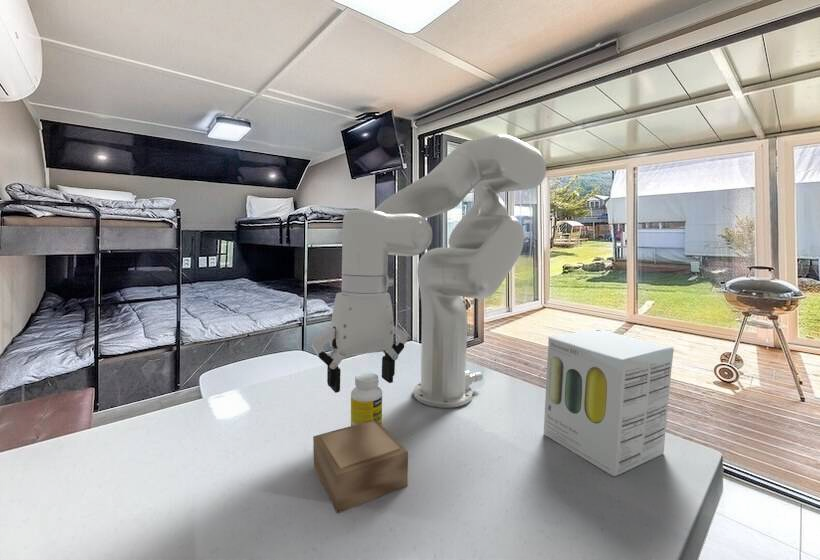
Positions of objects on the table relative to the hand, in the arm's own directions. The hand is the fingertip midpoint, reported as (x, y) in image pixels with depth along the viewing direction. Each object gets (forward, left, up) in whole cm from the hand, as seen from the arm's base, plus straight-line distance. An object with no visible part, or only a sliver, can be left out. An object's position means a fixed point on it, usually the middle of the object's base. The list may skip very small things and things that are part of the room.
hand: (361, 384), depth 62 cm
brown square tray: (+5, +11, -9) cm, 15 cm away
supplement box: (-33, +23, -9) cm, 41 cm away
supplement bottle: (-1, 0, -9) cm, 9 cm away
